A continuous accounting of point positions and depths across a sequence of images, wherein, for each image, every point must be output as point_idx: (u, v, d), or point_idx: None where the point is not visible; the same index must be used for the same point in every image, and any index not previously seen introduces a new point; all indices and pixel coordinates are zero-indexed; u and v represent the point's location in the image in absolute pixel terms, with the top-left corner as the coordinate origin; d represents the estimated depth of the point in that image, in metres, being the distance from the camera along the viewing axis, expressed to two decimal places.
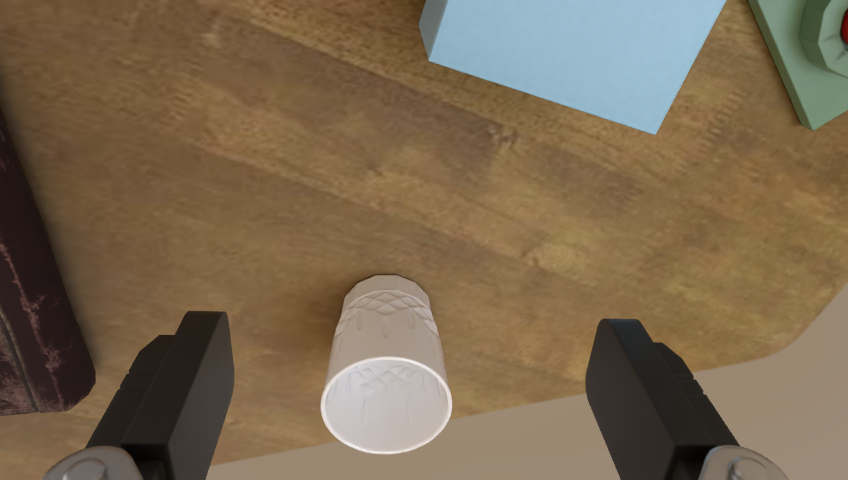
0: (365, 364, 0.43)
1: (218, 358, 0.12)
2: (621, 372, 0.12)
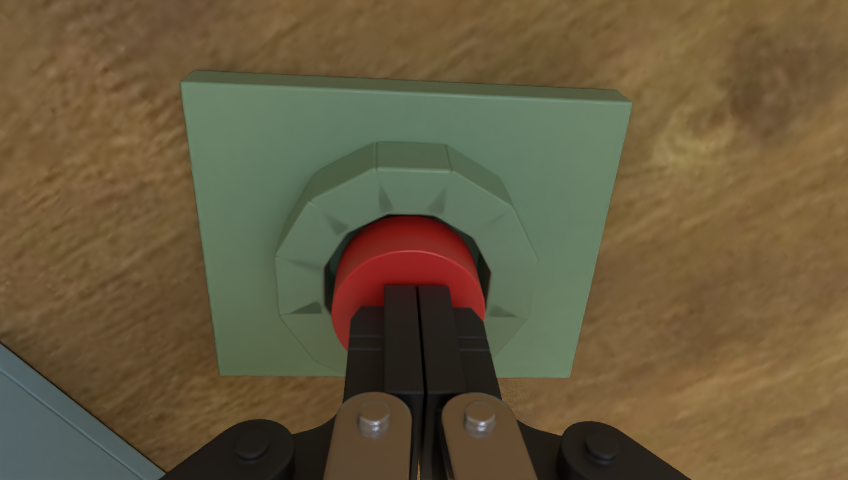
0: None
1: None
2: (419, 333, 0.12)
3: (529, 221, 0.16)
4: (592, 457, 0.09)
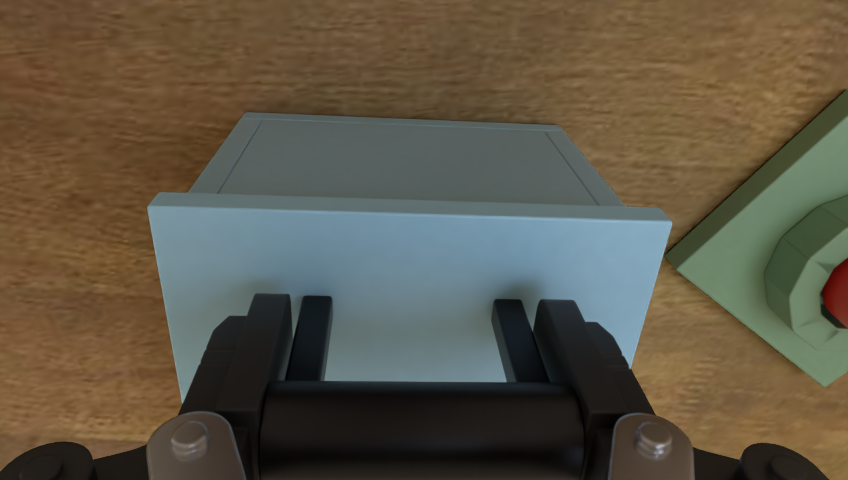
0: None
1: (285, 337, 0.12)
2: (553, 348, 0.12)
3: None
4: None
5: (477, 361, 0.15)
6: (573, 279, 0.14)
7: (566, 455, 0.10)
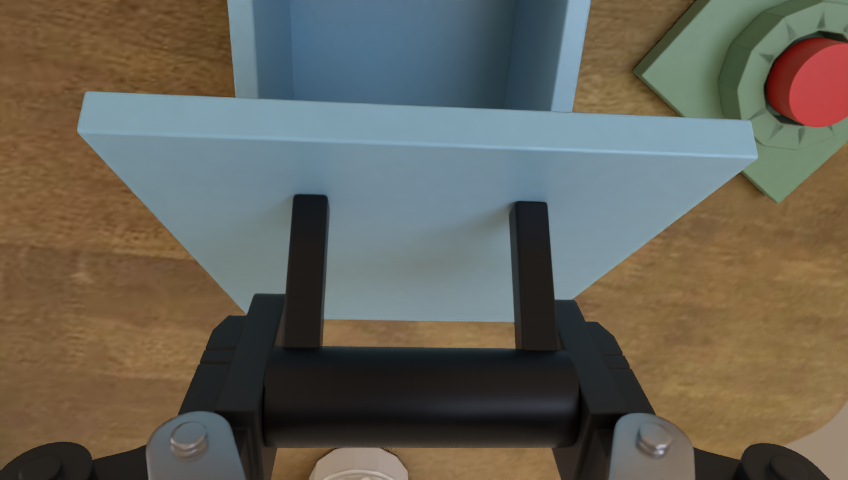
0: None
1: None
2: None
3: None
4: None
5: (488, 232, 0.14)
6: (613, 191, 0.12)
7: (556, 443, 0.11)
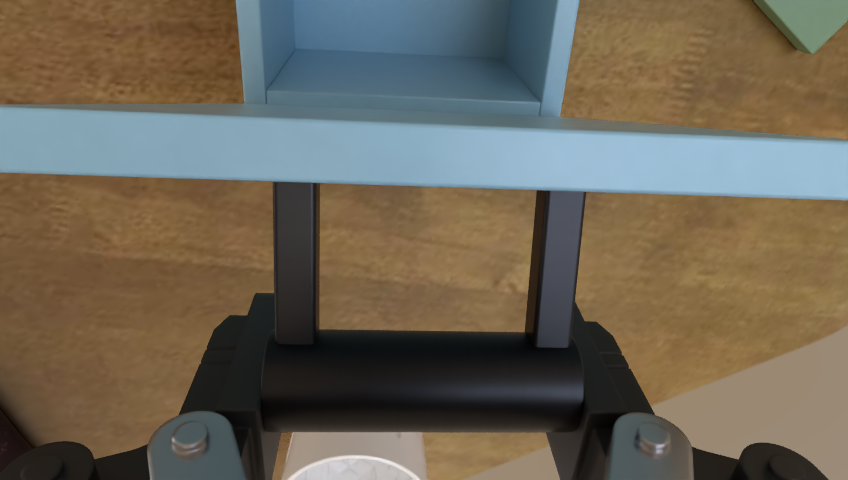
0: None
1: None
2: None
3: None
4: None
5: None
6: None
7: None
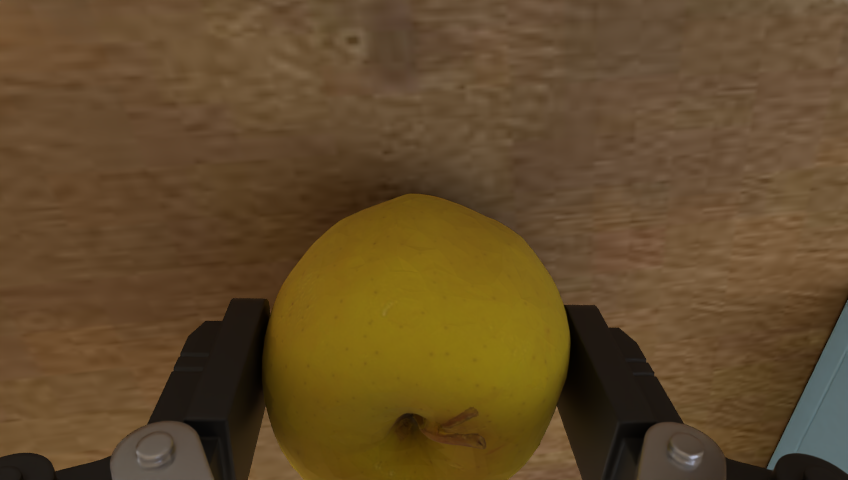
0: None
1: (262, 343, 0.12)
2: (576, 355, 0.12)
3: None
4: None
5: None
6: None
7: None
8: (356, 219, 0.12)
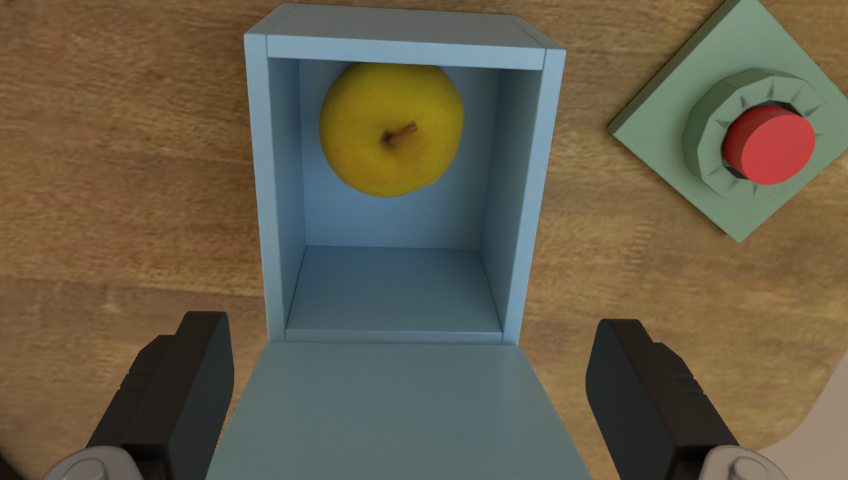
0: None
1: (218, 358, 0.12)
2: (621, 372, 0.12)
3: None
4: None
5: None
6: None
7: None
8: None
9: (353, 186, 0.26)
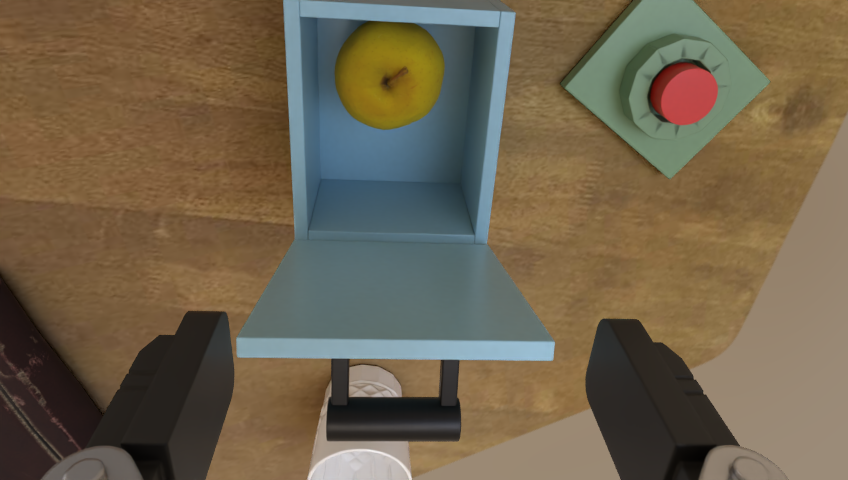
0: None
1: (218, 358, 0.12)
2: (621, 372, 0.12)
3: None
4: None
5: None
6: None
7: None
8: None
9: (360, 119, 0.34)
